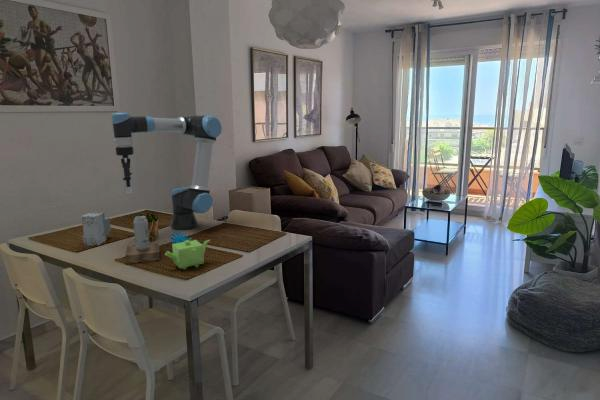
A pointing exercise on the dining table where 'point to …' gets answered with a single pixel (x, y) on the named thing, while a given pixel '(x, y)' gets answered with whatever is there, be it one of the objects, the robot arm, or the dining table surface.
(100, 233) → the circuit breaker
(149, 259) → the stand
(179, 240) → the gear
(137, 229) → the energy drink can
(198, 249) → the kettle
